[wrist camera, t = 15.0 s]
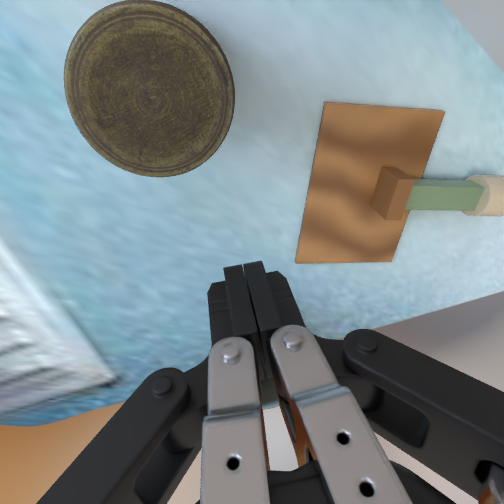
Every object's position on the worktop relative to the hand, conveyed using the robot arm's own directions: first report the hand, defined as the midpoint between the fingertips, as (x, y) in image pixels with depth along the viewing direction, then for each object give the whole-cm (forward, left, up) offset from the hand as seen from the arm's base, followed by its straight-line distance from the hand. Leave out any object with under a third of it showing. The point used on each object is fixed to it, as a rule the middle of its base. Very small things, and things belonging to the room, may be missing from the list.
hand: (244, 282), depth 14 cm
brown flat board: (+7, +19, -27) cm, 34 cm away
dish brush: (+6, +20, -24) cm, 32 cm away
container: (-5, -4, -27) cm, 28 cm away
